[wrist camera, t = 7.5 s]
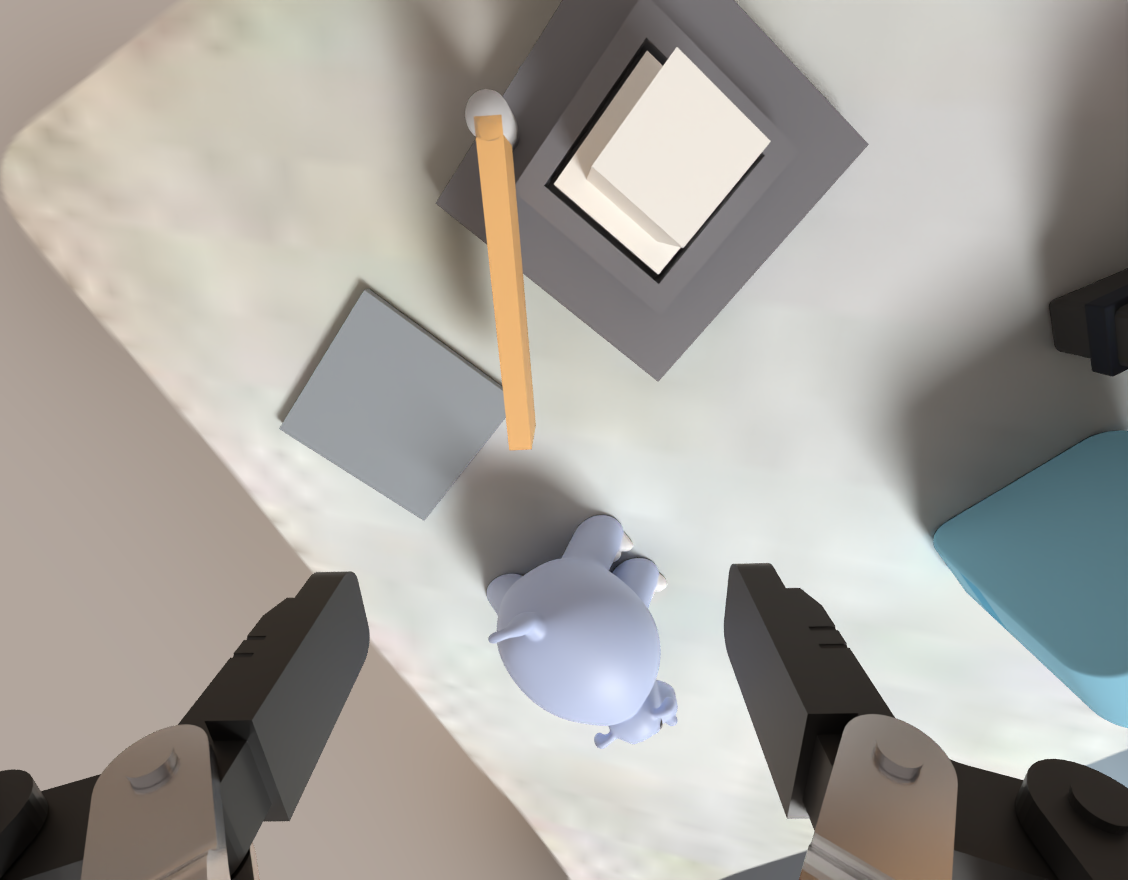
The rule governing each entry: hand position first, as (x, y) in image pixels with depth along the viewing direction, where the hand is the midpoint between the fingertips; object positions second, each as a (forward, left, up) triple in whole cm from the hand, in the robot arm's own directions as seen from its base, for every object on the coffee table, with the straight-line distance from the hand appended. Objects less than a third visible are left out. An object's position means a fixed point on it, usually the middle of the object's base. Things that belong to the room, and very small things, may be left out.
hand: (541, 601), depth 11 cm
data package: (-11, +28, -20) cm, 37 cm away
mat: (+8, -6, -20) cm, 22 cm away
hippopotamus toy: (+12, +12, -20) cm, 26 cm away
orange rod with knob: (-3, -5, -16) cm, 17 cm away
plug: (-10, -3, -18) cm, 21 cm away
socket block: (-10, -3, -20) cm, 22 cm away
